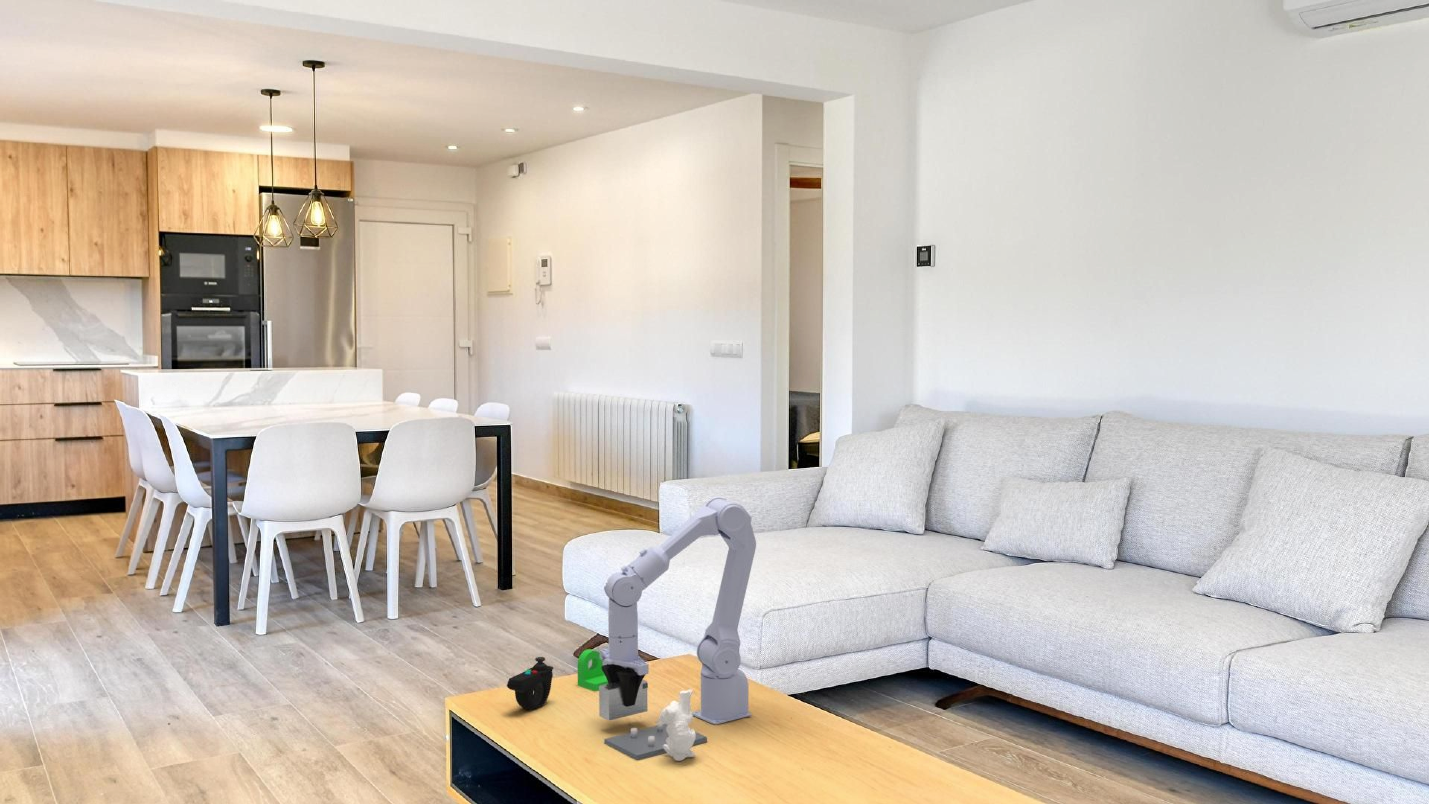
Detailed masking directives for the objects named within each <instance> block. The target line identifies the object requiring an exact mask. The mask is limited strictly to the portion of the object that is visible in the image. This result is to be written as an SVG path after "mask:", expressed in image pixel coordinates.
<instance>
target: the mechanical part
mask: <svg viewBox="0 0 1429 804" xmlns="http://www.w3.org/2000/svg"><path fill="white" fill-rule="evenodd" d="M590 661H591V665H590V666H589V663H590ZM603 662H604V660H601V659H600V651H597V650H594V649H591V648H588V649H585V650H583V651H582V652H581V653H580V655H579V656H578V661H577V686H578V687H580V688H583V689H586V690H590V691H592V692H599V686H601V685H605V684H608V681H607V678H606V676H605V674H604V672H603V671H602V669H601V667H602V666H603V665H604V663H603Z"/></svg>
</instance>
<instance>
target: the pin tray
mask: <svg viewBox="0 0 1429 804" xmlns="http://www.w3.org/2000/svg"><path fill="white" fill-rule="evenodd" d="M667 726H668V725H667V724H664V723H661V722H660V721H659V720H658V721H657V722H656V725H655V726H651V727H647V728H642V729H639V730H638V728H637V727H631V728H630V732H626V733H624V734H623V733H622V734H619V735H615V736H614V735H613V736H610V737H606V738H603V740H604V741H603V743H604V744H605V745H606V746H608V747H610V748H612V749H614V750H616V751H618V752H620V753H621V754H623V755H626V756H627V757H629V758H631V759H633V760H635V761H642V760H645V759H648V758H653V757H657V756H660V755H664V754H667V752H666V751H665V750H664V749H663V745H664V744H666V745H667V743H666V739H667V738H668V737H669V734H668V733H667V731H666V727H667ZM695 734H696V737H695V741H694V743H693V746H697V745H702V744H705V743H707V742H708V736H706V735H704V734H701V733H699V732H697V731H695ZM693 746H692V747H693Z"/></svg>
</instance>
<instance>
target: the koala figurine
mask: <svg viewBox="0 0 1429 804" xmlns="http://www.w3.org/2000/svg"><path fill="white" fill-rule="evenodd" d="M693 691H694V689H691V688H689V689H688V690H681V691H680V692H679V696H678V701H676V700H671V702H670V703H669V705H667V706H666V707H663V709H662V710H661V712H660V714H659V717H658V721H660V722H661V723H663V724H667V725H668V726H667V727H666V731H667V733H668V734H669V737H668V738H667V739H666V743H667V745H666V744H664V745H663V749H664V750H665V751H666V752H667V753H666V754H667V755H668V756H669V757H671V758H673V759H674V761H677V762H680V761H683V760H684V759H686V758H693V757H696V753H695V752H693V751H692V750H691V749H692V747H693V743H694V741H695V737H696V734H695V732H696V731H695V729H694V728H690V726H689V724H691V723H692V722H693V718H694V716H693V715H692V713H693V711H692V710H691V698H692V697H691V696H692V695H693Z"/></svg>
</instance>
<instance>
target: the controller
mask: <svg viewBox="0 0 1429 804" xmlns="http://www.w3.org/2000/svg"><path fill="white" fill-rule="evenodd" d="M535 661H536V663H535V664H534V665H533V666H532V667H530V668H527V669H526V670H525V671H523V672H521V673H518V674H516V675H514V676H512V677H509V678H508V681H507V684H506V687H507V688H508V689H509V690H511V691H514V694H515V695H514V696H515V701H516V702H517V704H518V705H519V707H521V708H522V709H524V710H528V709H529V710H528V711H533V710H534V709H535V710H538V709H540V708H542V707H543V706H544V705H545V703H546V702H547V700H548V698H549V696H550V693H551V689H552V681H553V677H554V675H553V673H554V672H553V670H554V666H552V665H551V666H550V665H548V664H546V663H545V661H546V657H544V656H537V657H535Z"/></svg>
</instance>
